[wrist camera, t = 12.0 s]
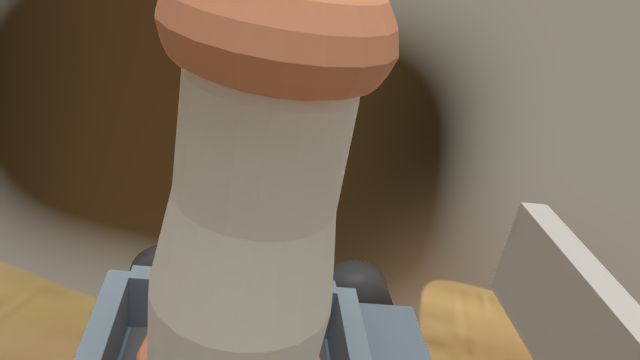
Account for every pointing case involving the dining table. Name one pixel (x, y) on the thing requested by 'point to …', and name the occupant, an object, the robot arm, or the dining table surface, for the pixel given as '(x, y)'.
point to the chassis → (340, 337)
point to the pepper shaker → (259, 171)
